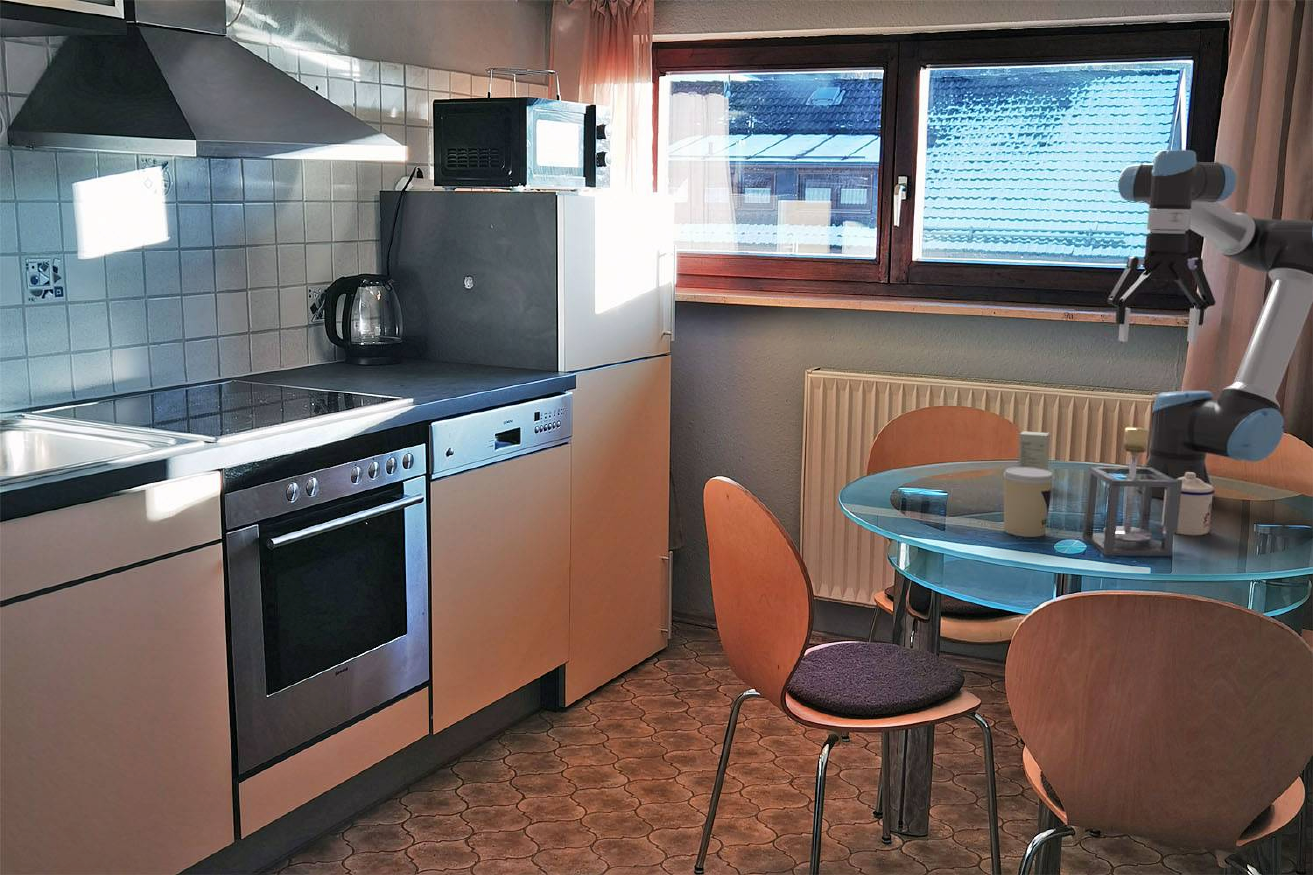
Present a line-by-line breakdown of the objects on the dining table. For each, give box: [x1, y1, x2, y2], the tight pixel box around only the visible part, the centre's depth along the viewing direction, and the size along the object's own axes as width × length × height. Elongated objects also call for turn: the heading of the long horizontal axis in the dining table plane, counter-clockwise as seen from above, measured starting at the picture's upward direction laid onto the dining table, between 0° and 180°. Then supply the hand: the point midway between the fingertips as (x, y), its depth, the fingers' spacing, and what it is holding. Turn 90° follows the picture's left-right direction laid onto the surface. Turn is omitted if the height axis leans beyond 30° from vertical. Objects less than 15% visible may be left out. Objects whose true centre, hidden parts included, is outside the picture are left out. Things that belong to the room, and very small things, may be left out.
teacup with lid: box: [1161, 472, 1215, 536], centre depth 237 cm, size 12×9×12 cm
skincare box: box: [1017, 430, 1051, 471], centre depth 272 cm, size 6×4×12 cm
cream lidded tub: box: [1003, 466, 1055, 538], centre depth 233 cm, size 9×9×12 cm
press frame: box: [1082, 466, 1182, 557], centre depth 223 cm, size 15×12×14 cm
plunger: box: [1102, 426, 1152, 542], centre depth 222 cm, size 8×8×20 cm
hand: (1157, 341), depth 235 cm, fingers open, 13 cm apart
